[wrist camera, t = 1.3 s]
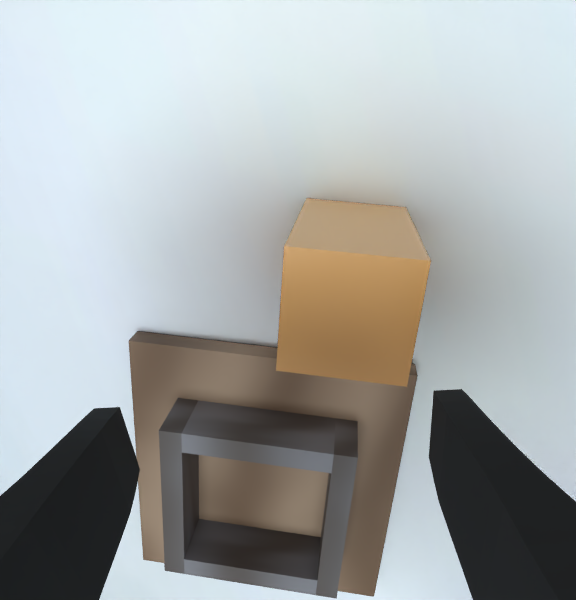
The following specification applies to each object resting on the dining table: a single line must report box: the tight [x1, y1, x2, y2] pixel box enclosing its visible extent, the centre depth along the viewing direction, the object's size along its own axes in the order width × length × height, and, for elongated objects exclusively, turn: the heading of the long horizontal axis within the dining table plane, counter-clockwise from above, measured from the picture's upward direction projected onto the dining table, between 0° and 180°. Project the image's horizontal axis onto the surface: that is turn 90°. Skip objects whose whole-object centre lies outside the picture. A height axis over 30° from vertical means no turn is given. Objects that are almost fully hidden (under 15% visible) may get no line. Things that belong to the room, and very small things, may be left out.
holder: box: [129, 331, 417, 598], centre depth 24 cm, size 13×14×4 cm
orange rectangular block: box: [276, 198, 431, 387], centre depth 17 cm, size 4×4×7 cm
